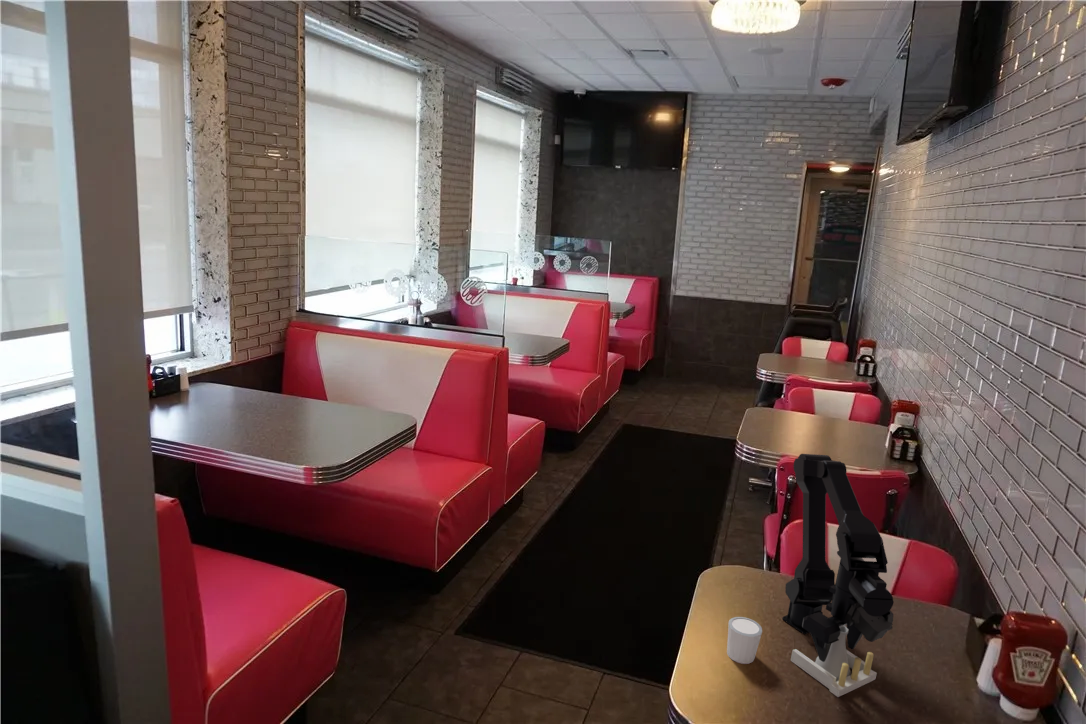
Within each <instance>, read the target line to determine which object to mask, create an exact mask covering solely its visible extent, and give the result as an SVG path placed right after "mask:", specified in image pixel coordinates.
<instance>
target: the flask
mask: <svg viewBox="0 0 1086 724" xmlns="http://www.w3.org/2000/svg"><path fill="white" fill-rule="evenodd" d="M840 630H841V632H840V635H839V637H838V638H837V639H839V641H836V642H834V643H832V644H831V647H830V649H829V652H828V655H827V658H826V660H825V662H822V661H821V660H820V659H819V657H818V656H817V657H816V658H815V661H814V662H815V663H816V664H818V665H819V666H820V667H822V668H823V669H825V670H826V671H827V672H829V673H830V674H832V675H833V676H834V677H836V682H837V681H839V677H840V672H841V668H842V663H847V664H848V665H849V663H848V658H847V652H846V650H847V648H846V646H847V645H846V643H847V641H846V640H847V634H848V631H849V629H848V628H847V625H845V626H842V627H840ZM850 675H851V668H850V667H849V668H848V672H847V677H848V676H850Z"/></svg>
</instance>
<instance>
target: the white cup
mask: <svg viewBox="0 0 1086 724" xmlns="http://www.w3.org/2000/svg"><path fill="white" fill-rule="evenodd" d="M727 628H728V629H727V630H728V631H727V644H726V645H727V646H726V654H727V656H728V658H729V659H731V660H732V661H734V662H736V663H738V664H742V665H747V664H750V663H751V664H752V663H753V662H754V661H755V658H756V654H757V651H758V647H759V644H760V642H761V639H762V638H761V636H762V634H763V627H762V626H761V624H759V623H758V622H757V621H756V620H754V619H751V618H749V617H745V616H734V617H732V618H730V619H729V620H728V627H727Z"/></svg>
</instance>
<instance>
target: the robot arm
mask: <svg viewBox="0 0 1086 724" xmlns="http://www.w3.org/2000/svg"><path fill="white" fill-rule="evenodd" d="M793 461H794V462H793V471H794V475H795V483H796V484H797V485H798V487H799V489H800V490H801V492H802V558H801V560H800V561H799V563H798V564H797V566H796V568H795V569H794V575H793V576H794V577H793V579H791V580H789V581H788V582H786V583H785V595H786V596H787V597H788V599H789V605H788V611H787V615H784V616H782V620H783V621H784V622H785V623H787V624H788V625H790V626H792V627H793V628H794V629H796V630H797V631H799V632H801V633H802V634H804V635H807V634H810V636H811V638H812V641H813V644H814V646H815V649H816V653H817V657H819V659H820V660H821V661H822V662H825V660H826V658H827V655H828V652H829V649H830V647H831V644H832V643H834V642H836V641H839V639H837V638H838V637H839V635H840V632H841V630H840V627H842V626H846V627H847V628H848V629H849V631H848V634H847V635H846V640H847V641H846V643H847V648H848V649H850V650H854V649H855V647H857V645H858V643H859V641H860V640H861V638H862V636H863V637H864V639H865V640H866V641H868V642H870V643H873V642H875V641H877V640H879V639H882V638H883V637H884V636H885V634H886V633H887V632H888V631H890V630H892V629H893V623H894V622H893V621H894V612H892V611H891V609H892V608H893V606H894V602H895V601H894V598H893V595H892V593H891V592H890V591H889V590H888V589H887V582H886V581H885V580H883V579H882V578H881V577H880V576H879V574H881V573H883V574H886V573H888V569H887V564H888V563H889V562H888V558H887V555H886V550H885V546H884V540H883V538H882V536H881V534H880V532H879V531H878V528H877V526H876V525H875V523H874V522H873V521H871V520H870V519H869V518H867V516H865V515H864V513H863V511H862V509H861V506H860V504H859V502H858V500H857V499H858V498H857V496H856V494H855V491H854V489H853V488H852V484H851V482H850V480H849V478H848V474H847V472H848V471H847V467H846V464H845V463H844V462H843V461H842V462H841V461H840V460H839V461H838V460H832V458H831V456H830V455H826V454H814V453H800V454H799V455H798V457H796V458H795V459H794V460H793ZM827 496H828V498H829V501H830V504H831V506H832V509H833V512H834V514H835V517H836V520H837V525H838V527H837V530H836V533H835V536H836V541H837V548H838V551H837V552H836V554H837V556H838V557H839V558H840V559H839V564H838V565H839V566H838V570H837V574H836V573H835V570H834V569H831V567H830V566H829V563H828V562H827V560H826V559H827V558H826V554H827V553H826V547H827V545H826V543H827V541H826V538H827V537H826V534H827V533H826V532H827V530H826V527H827V526H826V525H827V524H826V523H827V519H826V516H827V512H826V511H827V510H826V508H827V505H826V504H827V503H826V501H827ZM865 559H872V560H873V559H875V560H876V561H875V560H874V561H871V560H870V561H869V560H865ZM835 575H836V576H835ZM835 577H836V578H835ZM823 606H825V610H827V612H829V613H830V615H831V616H829V617H828V616H827V615H825V614H823Z"/></svg>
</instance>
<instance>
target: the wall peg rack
mask: <svg viewBox="0 0 1086 724" xmlns="http://www.w3.org/2000/svg"><path fill="white" fill-rule="evenodd" d="M846 652H847V658H848V663H849V665H848V664H847V663H842V668H841V672H840V677H839V681H836V677H834V676H833V675H832V674H830V673H829V672H827V671H826V670H825V669H823V668H822V667H820V666H819V665H818V664H816V663H815V661H814V660H812V659H811V658H809V657H808V656H806V655H805V654H804V653H803V652H801V651H799V650H798V649H796V648H795V649H792V652H791V656H790V661H791V662H792V663H793V664H794V665H796V666H798V668H800V670H801V669H802V670H803V671H804V672H806V673H807V675H810V676H811V677H812V678H813V679H815V680H816V681H818V682H819V683H820V684H822V685H823V686H825V687H826V688H827V689H829V690H828V691H829V692H830V693H832V694H833V695H834V696H836V697H837V698H839V697H841V696H842V697H843V695H845V694H848V693H850V692H852V691H854V690H856V689H858V688H860V687H863V686H864V685H867V684H869V683H871V682H873V681H875V680H876V677H877V674H878V673H877V671H874V670H872V665H873V660H874V656H875V655H874V653H873V652H872V651H868V652H867V653H866V657H865V661H864V660H862V658H860V657H858V656H857V655H855V654H854V653H852V652H851V651H849V650H848V649H846ZM848 668H850V669H852V671H851V674H850V676H848V677H847V672H848Z"/></svg>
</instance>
